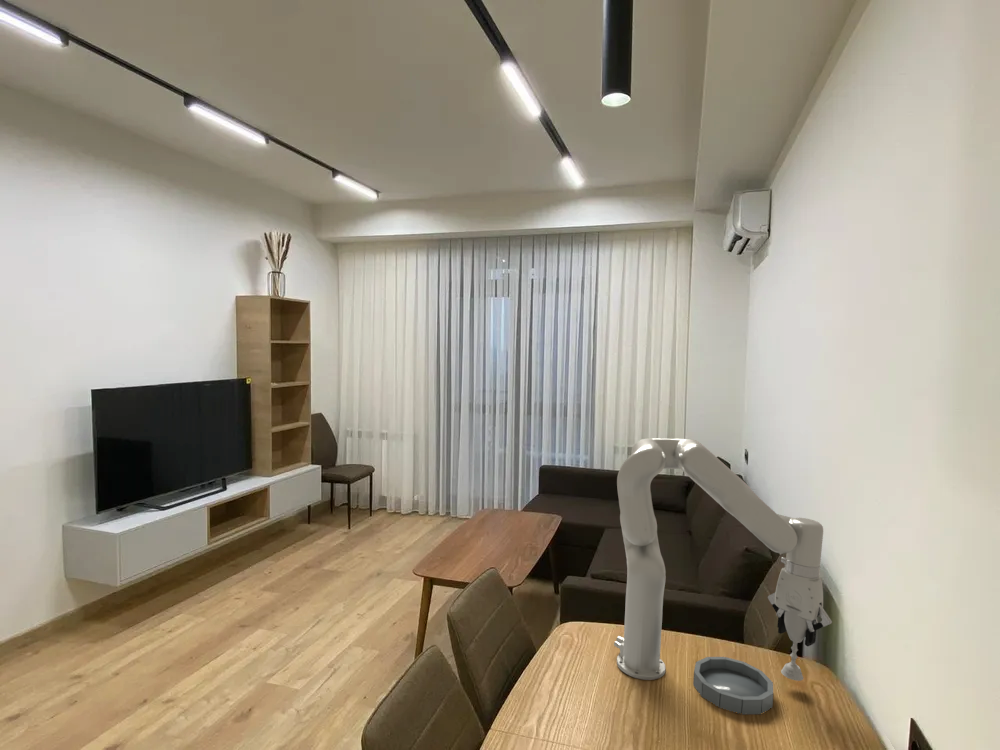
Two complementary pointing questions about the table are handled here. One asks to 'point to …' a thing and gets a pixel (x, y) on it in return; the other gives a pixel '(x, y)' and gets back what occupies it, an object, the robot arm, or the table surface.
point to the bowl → (733, 685)
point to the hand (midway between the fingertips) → (795, 637)
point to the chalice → (794, 641)
